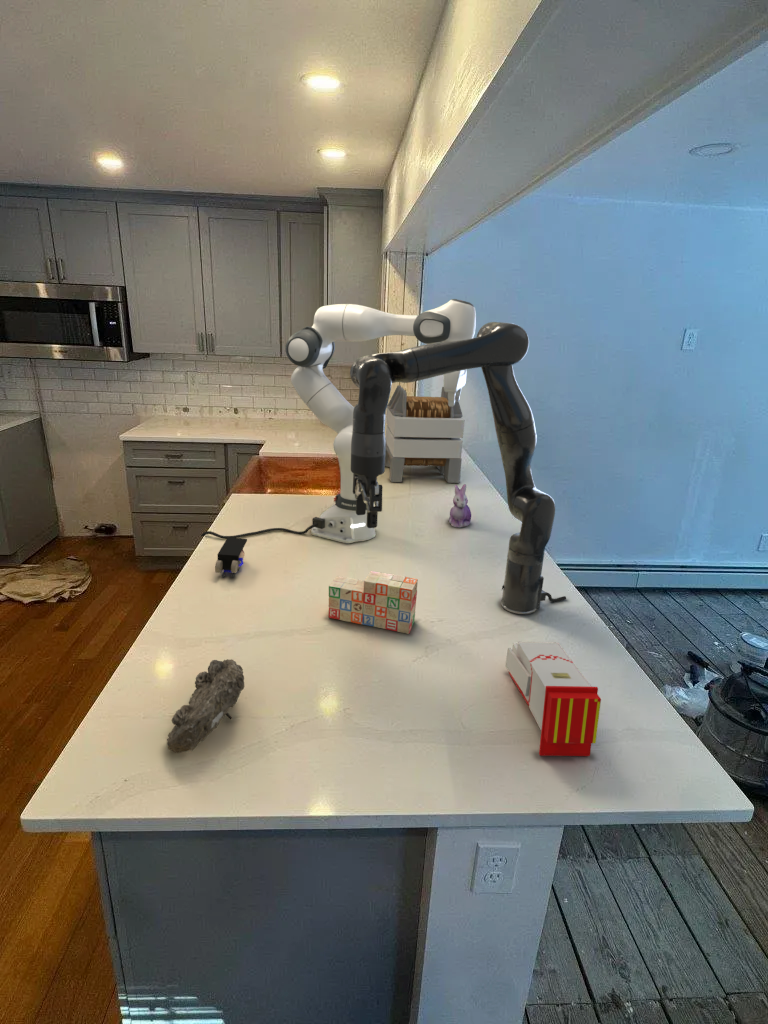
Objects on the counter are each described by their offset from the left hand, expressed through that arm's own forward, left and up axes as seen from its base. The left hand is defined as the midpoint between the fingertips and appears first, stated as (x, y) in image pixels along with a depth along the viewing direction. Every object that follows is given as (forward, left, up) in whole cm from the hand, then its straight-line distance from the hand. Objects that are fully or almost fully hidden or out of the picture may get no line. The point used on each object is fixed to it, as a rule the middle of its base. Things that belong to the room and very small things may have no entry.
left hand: (453, 403), depth 174 cm
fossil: (-26, -98, -48) cm, 112 cm away
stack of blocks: (-8, -54, -48) cm, 72 cm away
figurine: (+2, +24, -48) cm, 54 cm away
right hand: (-9, -59, -19) cm, 63 cm away
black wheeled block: (-55, -40, -48) cm, 84 cm away
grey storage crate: (-27, +86, -48) cm, 102 cm away
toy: (+34, -74, -48) cm, 95 cm away
